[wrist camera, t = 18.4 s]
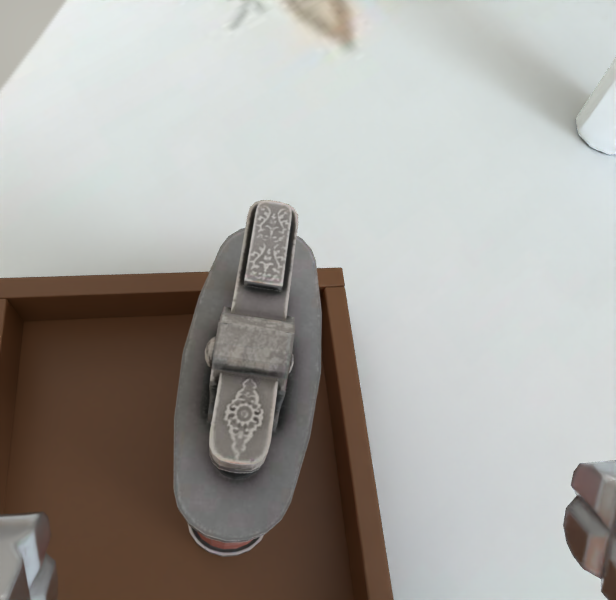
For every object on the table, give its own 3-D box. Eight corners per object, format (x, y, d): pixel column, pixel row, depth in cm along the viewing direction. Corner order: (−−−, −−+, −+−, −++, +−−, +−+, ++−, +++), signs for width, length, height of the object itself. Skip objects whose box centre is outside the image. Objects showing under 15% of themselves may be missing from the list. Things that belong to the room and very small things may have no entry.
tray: (415, 885, 16) (446, 932, 14) (-75, 995, 14) (-128, 1071, 12) (330, 296, 24) (342, 266, 22) (7, 308, 22) (-16, 278, 20)
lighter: (273, 562, 19) (323, 542, 10) (170, 551, 19) (129, 518, 10) (299, 337, 23) (352, 178, 14) (212, 325, 22) (210, 154, 14)
